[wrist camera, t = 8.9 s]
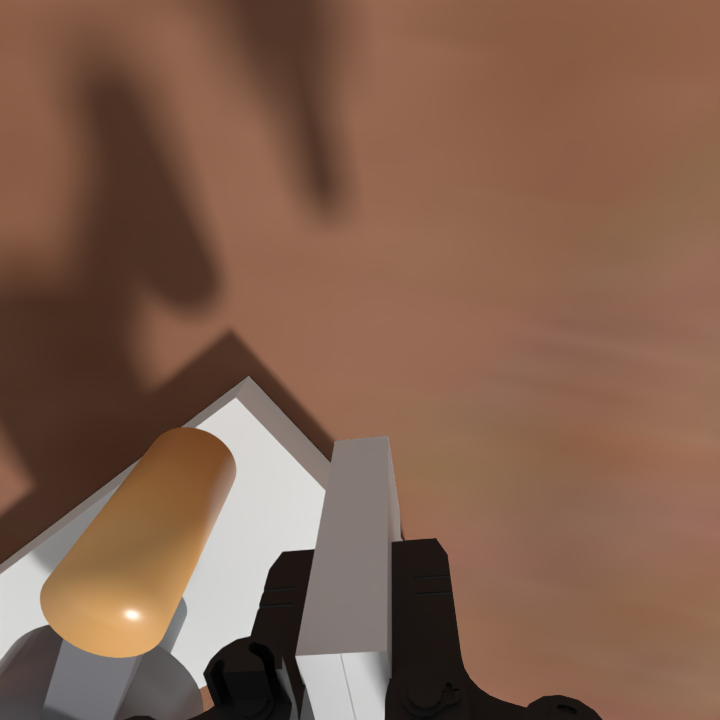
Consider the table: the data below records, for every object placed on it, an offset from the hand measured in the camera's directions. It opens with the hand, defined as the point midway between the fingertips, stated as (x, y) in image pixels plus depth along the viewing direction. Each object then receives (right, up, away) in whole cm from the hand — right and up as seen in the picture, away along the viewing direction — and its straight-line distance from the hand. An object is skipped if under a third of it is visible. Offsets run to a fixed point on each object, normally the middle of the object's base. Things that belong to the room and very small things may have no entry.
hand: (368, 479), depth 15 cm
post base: (-10, -7, +12) cm, 17 cm away
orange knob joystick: (-9, -6, +6) cm, 12 cm away
